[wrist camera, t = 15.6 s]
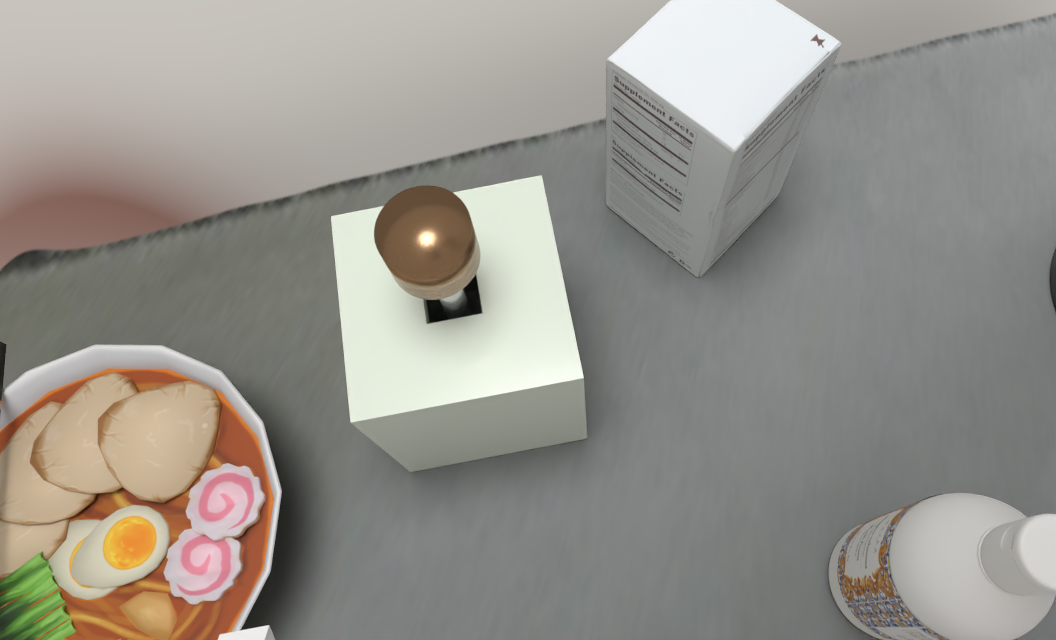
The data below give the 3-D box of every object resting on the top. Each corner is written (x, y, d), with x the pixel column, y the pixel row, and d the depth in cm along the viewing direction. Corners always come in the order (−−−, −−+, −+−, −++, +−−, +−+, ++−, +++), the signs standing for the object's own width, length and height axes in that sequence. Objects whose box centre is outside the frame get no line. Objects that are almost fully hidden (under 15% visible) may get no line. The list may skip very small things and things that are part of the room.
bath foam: (852, 501, 51) (1000, 428, 32) (961, 558, 49) (1184, 517, 30) (807, 601, 49) (935, 586, 30) (918, 665, 47) (1127, 690, 29)
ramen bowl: (337, 714, 49) (289, 730, 41) (-29, 781, 49) (-145, 810, 42) (309, 334, 58) (265, 290, 50) (0, 393, 58) (-90, 358, 51)
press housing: (554, 276, 58) (541, 175, 45) (587, 438, 54) (583, 377, 41) (391, 308, 58) (330, 216, 45) (410, 472, 54) (350, 422, 41)
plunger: (535, 283, 55) (506, 123, 38) (561, 412, 52) (541, 302, 34) (403, 308, 55) (313, 161, 38) (420, 439, 52) (330, 343, 34)
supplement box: (685, 123, 62) (715, -49, 46) (783, 193, 59) (850, 36, 43) (600, 206, 60) (601, 56, 44) (697, 283, 57) (735, 152, 41)
